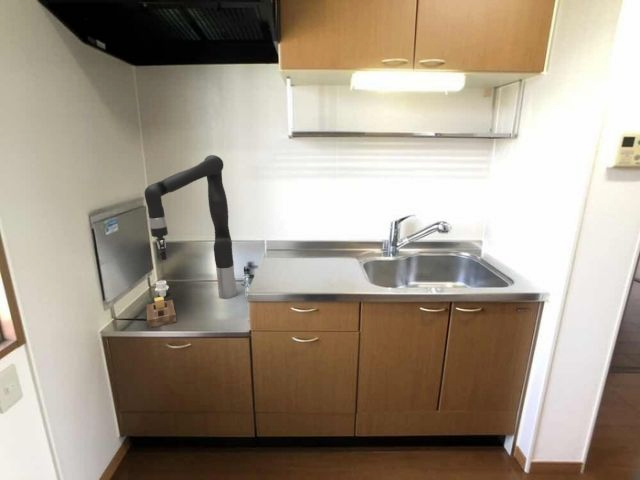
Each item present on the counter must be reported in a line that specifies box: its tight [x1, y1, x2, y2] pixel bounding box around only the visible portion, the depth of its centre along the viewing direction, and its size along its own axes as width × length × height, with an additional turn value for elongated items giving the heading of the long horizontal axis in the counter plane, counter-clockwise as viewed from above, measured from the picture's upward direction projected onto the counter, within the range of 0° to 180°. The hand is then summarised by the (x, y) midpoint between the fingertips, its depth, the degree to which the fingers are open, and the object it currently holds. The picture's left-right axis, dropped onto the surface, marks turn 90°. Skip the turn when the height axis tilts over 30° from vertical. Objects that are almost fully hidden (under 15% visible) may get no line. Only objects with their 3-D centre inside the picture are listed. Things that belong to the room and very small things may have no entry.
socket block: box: [146, 299, 177, 329], centre depth 169 cm, size 12×18×4 cm, turn 26°
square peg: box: [154, 296, 165, 309], centre depth 172 cm, size 4×4×8 cm
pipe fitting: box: [154, 280, 170, 298], centre depth 192 cm, size 6×7×8 cm
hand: (163, 257), depth 176 cm, fingers open, 8 cm apart
